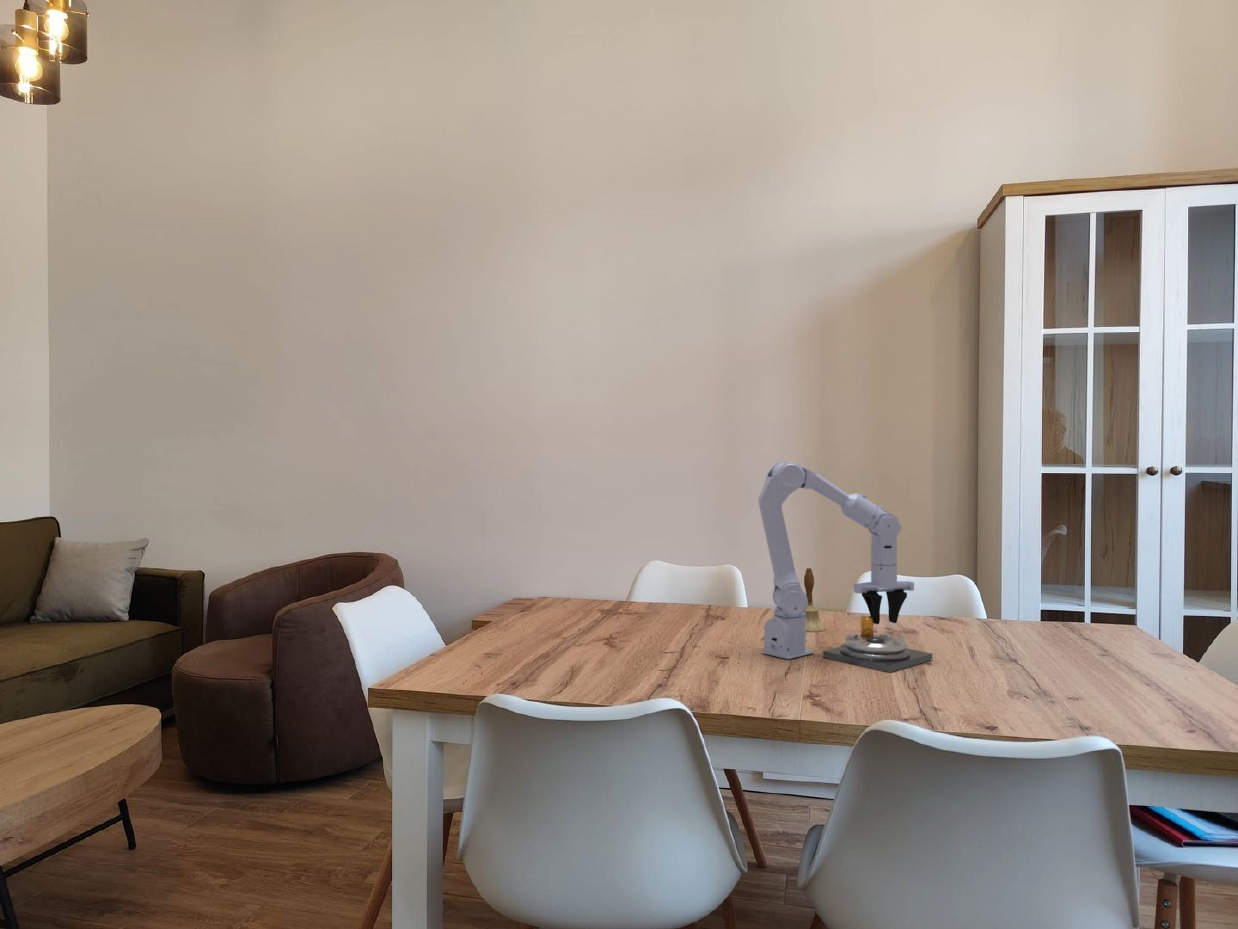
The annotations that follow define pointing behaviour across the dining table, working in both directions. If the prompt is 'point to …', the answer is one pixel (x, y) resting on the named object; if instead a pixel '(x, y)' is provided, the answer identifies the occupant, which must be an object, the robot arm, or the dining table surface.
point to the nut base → (878, 658)
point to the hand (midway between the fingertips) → (884, 622)
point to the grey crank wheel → (873, 640)
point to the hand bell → (811, 605)
